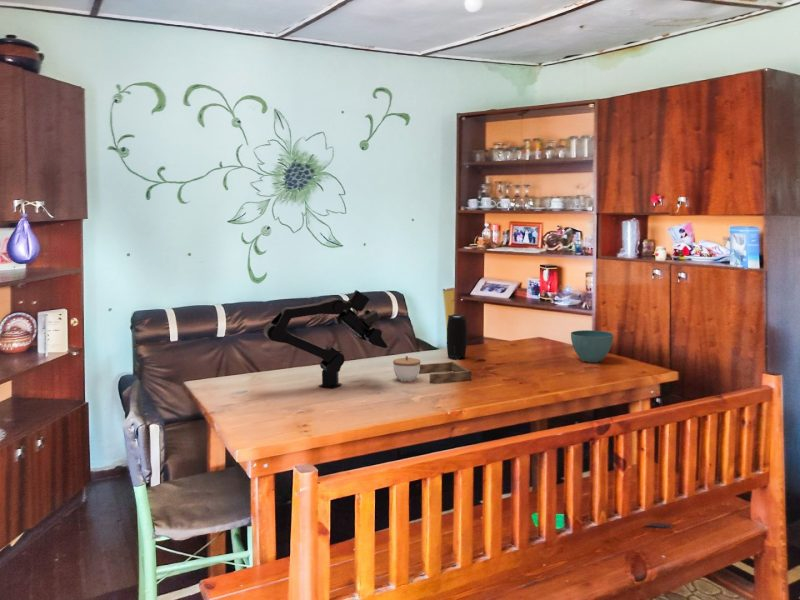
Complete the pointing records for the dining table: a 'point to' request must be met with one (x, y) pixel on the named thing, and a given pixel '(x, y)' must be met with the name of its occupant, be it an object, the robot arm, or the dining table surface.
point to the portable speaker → (456, 336)
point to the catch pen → (456, 375)
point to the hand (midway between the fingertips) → (382, 345)
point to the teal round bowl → (591, 344)
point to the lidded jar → (406, 368)
